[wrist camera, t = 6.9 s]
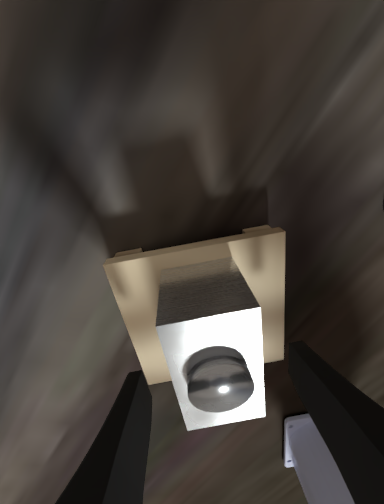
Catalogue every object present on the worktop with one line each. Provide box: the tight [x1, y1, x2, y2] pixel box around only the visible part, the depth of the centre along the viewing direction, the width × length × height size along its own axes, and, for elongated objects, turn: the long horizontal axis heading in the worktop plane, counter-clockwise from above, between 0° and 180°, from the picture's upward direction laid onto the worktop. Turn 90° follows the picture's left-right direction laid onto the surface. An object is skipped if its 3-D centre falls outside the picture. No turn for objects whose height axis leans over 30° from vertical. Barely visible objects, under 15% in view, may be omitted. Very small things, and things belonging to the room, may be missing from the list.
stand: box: [103, 225, 286, 385], centre depth 15 cm, size 10×10×2 cm
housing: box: [155, 257, 265, 431], centre depth 11 cm, size 4×7×5 cm, turn 9°
